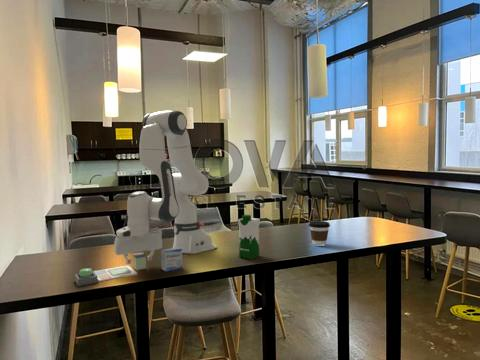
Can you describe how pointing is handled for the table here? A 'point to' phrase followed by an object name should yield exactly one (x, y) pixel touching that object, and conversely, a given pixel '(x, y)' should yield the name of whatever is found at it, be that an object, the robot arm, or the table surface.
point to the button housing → (86, 279)
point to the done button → (85, 272)
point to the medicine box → (171, 259)
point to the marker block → (139, 261)
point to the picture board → (115, 273)
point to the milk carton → (248, 237)
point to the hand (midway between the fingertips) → (139, 261)
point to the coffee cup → (319, 232)
